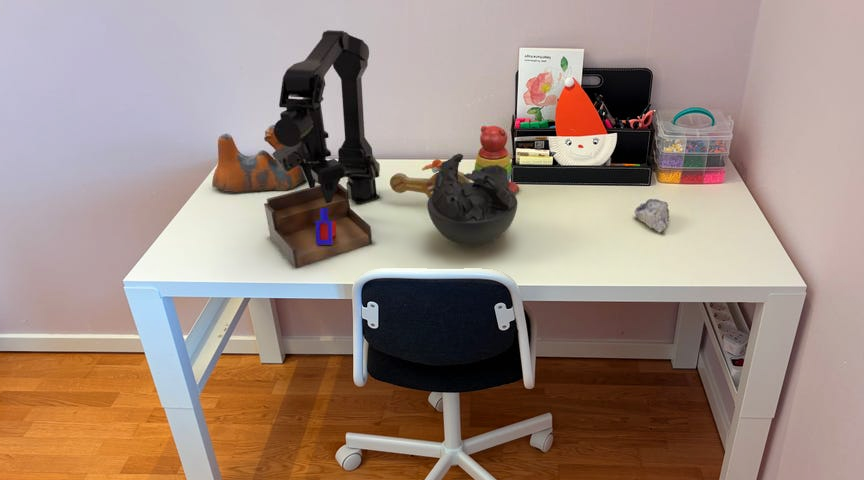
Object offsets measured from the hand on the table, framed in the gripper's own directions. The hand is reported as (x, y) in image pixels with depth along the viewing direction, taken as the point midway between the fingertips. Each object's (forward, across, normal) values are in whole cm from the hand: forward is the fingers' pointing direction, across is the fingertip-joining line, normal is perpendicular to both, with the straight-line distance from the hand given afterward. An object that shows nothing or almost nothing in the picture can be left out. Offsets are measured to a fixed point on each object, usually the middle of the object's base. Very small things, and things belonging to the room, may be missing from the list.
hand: (320, 195), depth 161 cm
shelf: (+12, -2, -1) cm, 12 cm away
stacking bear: (+13, +1, +46) cm, 48 cm away
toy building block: (+10, +3, -1) cm, 10 cm away
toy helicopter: (+12, 0, +29) cm, 32 cm away
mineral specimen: (+12, +36, +67) cm, 77 cm away
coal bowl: (+12, +19, +28) cm, 36 cm away
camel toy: (+12, -39, -2) cm, 41 cm away
